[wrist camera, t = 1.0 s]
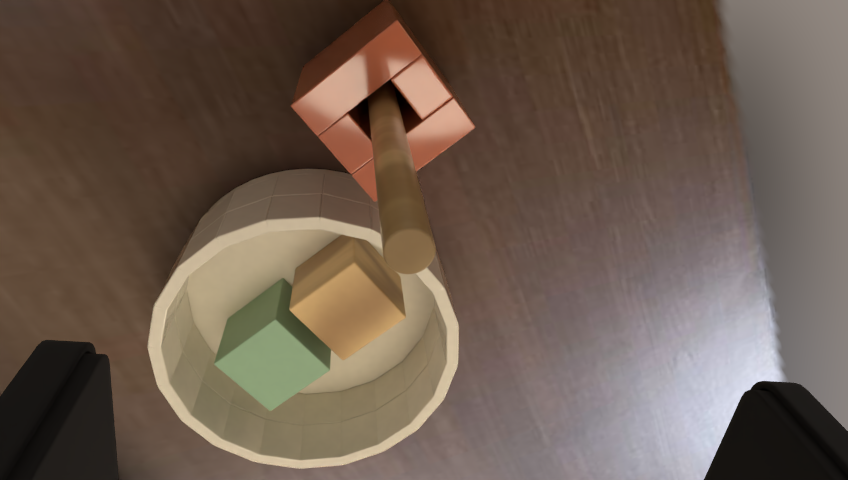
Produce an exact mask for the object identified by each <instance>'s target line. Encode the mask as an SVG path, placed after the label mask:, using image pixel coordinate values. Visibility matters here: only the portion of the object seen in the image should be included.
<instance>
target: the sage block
mask: <svg viewBox="0 0 848 480" xmlns="http://www.w3.org/2000/svg"><path fill="white" fill-rule="evenodd" d="M291 294H292V286H291V285H290V284H289V283H288V282H287V281H286V280H285V279H284V278H282V279H281V280H279V281H278V282H276V283H275V284H274V285H272V286H271V287H270V288H268V289H267V290H266V291H264V292H263V293H262V294H260V295H259V296H258V297H256V298H255V299H253V300H252V301H251V302H249V303H248V304H247V305H245V306H244V307H243V308H241V309H240V310H239V311H237V312H236V313H235V314H233V315H232V316H230V317H229V318H228V319H227V322H226V326H225V329H224V332H223V335H222V339H221V342H220V345H219V348H218V352H217V355H216V358H215V362H214V365H215V366H217V367H218V368H219V369H220V370H221V371H223V372H224V373H225V374H226V375H227V376H229V377H230V378H231V379H232V380H233V381H235V382H236V383H237V384H238V385H239V386H241V387H242V388H243V389H244V390H245V391H247V392H248V393H249V394H250V395H251V396H253V397H254V398H255V399H256V400H257V401H259V402H260V403H261V404H262V405H263V406H265V407H266V408H267V409H268V410H269V411H272V410H273V409H274V408H276V407H277V406H279V405H280V404H282V403H283V402H285V401H286V400H288V399H289V398H290V397H292V396H293V395H295V394H296V393H298V392H299V391H301V390H302V389H304V388H305V387H306V386H308V385H309V384H311V383H312V382H314V381H315V380H317V379H318V378H320V377H321V376H322V375H324V374H325V373H327V372H328V371H330V361H331V349H330V348H329V347H328V346H327V345H326V344H325V343H324V342H323V341H322V340H320V339H319V338H318V337H317V336H316V335H315V334H314V333H313V332H312V331H311V330H310V329H309V328H308V327H307V326H306V325H305V324H304V323H302V322H301V321H300V320H299V319H298V318H297V317H296V316H295V315H294V314H293V313H292V312H291V311H290V310H289V307H290V300H291Z"/></svg>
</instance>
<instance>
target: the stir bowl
mask: <svg viewBox="0 0 848 480" xmlns="http://www.w3.org/2000/svg"><path fill="white" fill-rule="evenodd" d="M340 235H346V236H351V237H355V238H359V239H364V240H367V241H368V242H369V243H370V244H371V245H372V246H373V247H374V248H375V249H376V250H377V252H378V253H379V254H380V255H381V256H382V257H383V250H382V240H381V230H380V220H379V210H378V200H377V201H376V202H374V201H373V200H372V198H371V197H370V196H369V195H368V194H367V193H366V192H365V190H364V189H363V188H362V187H361V186H360V185H359V184H358V182H357V181H356V180H355V179H354V178H353V177H352V175H351V174H347V173H344V172H338V171H332V170H325V169H296V170H286V171H281V172H276V173H272V174H268V175H265V176H262V177H259V178H256V179H253V180H251V181H249V182H247V183H245V184H243V185H241V186H239V187H237V188H235V189H234V190H232V191H231V192H229V193H228V194H226V195H225V196H223V197H222V198H221V199H219V200H218V201H217V202H216V203H215V204H214V205H213V206H212V207H211V208H210V209H209V210H208V211H207V212H206V213H205V214H204V216H203V217H202V218H201V219H200V221H199V222H198V223H197V225H196V227H195V228H194V230H193V232H192V234H191V235H190V237H189V239H188V241H187V242H186V244H185V245H184V247H183V249H182V250H181V252H180V254H179V256H178V258H177V260H176V262H175V264H174V266H173V268H172V270H171V272H170V274H169V276H168V278H167V280H166V282H165V284H164V286H163V288H162V290H161V292H160V294H159V296H158V298H157V300H156V302H155V304H154V306H153V312H152V319H151V325H150V332H149V338H148V351H149V355H150V359H151V363H152V367H153V371H154V375H155V379H156V383H157V386H158V388H159V389H160V391H161V392H162V394H163V395H164V397H165V398H166V399H167V401H168V402H169V404H170V405H171V407H172V408H173V410H174V411H175V412H176V414H177V415H178V417H179V418H180V419H181V421H182V422H184V423H185V424H186V425H188V426H189V427H190V428H192V429H193V430H194V431H195V432H197V433H198V434H199V435H201V436H202V437H203V438H205V439H206V440H207V441H209V442H210V443H211V444H213V445H214V446H216V447H219V448H221V449H223V450H226V451H228V452H231V453H233V454H236V455H238V456H241V457H243V458H246V459H248V460H251V461H253V462H257V463H263V464H270V465H277V466H284V467H291V468H300V469H303V468H315V467H327V466H338V465H345V464H348V463H351V462H354V461H357V460H360V459H363V458H366V457H369V456H372V455H375V454H378V453H381V452H383V451H385V450H387V449H389V448H390V447H392V446H393V445H395V444H396V443H398V442H399V441H401V440H403V439H404V438H406V437H407V436H409V435H410V434H412V433H413V432H415V431H417V430H418V429H419V428H420V427H421V425H422V424H423V423H424V422H425V421H426V420H427V418H428V417H429V416H430V415H431V414H432V413H433V411H434V410H435V409H436V408H437V407H438V406H439V405H440V403H441V402H442V401H443V399H444V398H445V396H446V393H447V391H448V388H449V386H450V383H451V381H452V379H453V376H454V374H455V371H456V369H457V366H458V355H459V324H458V320H457V316H456V312H455V309H454V305H453V301H452V297H451V294H450V290H449V286H448V283H447V279H446V275H445V271H444V269H443V266H442V263H441V261H440V257H439V254H438V251H437V249H436V252H435V256H434V259H433V261H432V262H431V264H430V265H429V266H428V267H427V268H426V269H424V270H423V271H421V272H418V273H415V274H401V273H398V272H397V273H398V275H399V276H400V277H401V284H402V291H403V298H404V306H405V313H406V318H405V319H403V320H402V321H400V322H399V323H398V324H396V325H395V326H393V327H392V328H390V329H389V330H387V331H386V332H384V333H383V334H382V335H380V336H379V337H377V338H376V339H374V340H373V341H371V342H370V343H368V344H367V345H366V346H364V347H363V348H361V349H360V350H358V351H357V352H355V353H354V354H353V355H351V356H350V357H348V358H347V359H345V360H342V359H341V358H339V357H338V356H337V355H336V354H335V353H334V352H333V351H332V350H331V361H330V371H328V372H327V373H325V374H324V375H322V376H321V377H320V378H318V379H317V380H315V381H314V382H312V383H311V384H309V385H308V386H306V387H305V388H304V389H302V390H301V391H299V392H298V393H296V394H295V395H293V396H292V397H290V398H289V399H288V400H286V401H285V402H283V403H282V404H280V405H279V406H277V407H276V408H274V409H273V410H272V411H269V410H268V409H267V408H266V407H265V406H263V405H262V404H261V403H260V402H259V401H257V400H256V399H255V398H254V397H253V396H251V395H250V394H249V393H248V392H247V391H245V390H244V389H243V388H242V387H241V386H239V385H238V384H237V383H236V382H235V381H233V380H232V379H231V378H230V377H229V376H227V375H226V374H225V373H224V372H223V371H221V370H220V369H219V368H218V367H217V366H215V365H214V362H215V358H216V355H217V352H218V348H219V345H220V342H221V339H222V335H223V332H224V329H225V326H226V322H227V319H228V318H229V317H230V316H232V315H233V314H235V313H236V312H237V311H239V310H240V309H241V308H243V307H244V306H245V305H247V304H248V303H249V302H251V301H252V300H253V299H255V298H256V297H258V296H259V295H260V294H262V293H263V292H264V291H266V290H267V289H268V288H270V287H271V286H272V285H274V284H275V283H276V282H278V281H279V280H281V279H282V278H284V279H285V280H286V281H287V282H288V283H289V284H290V285H291V286H292V287H293V281H294V274H295V269H296V268H297V267H298V266H300V265H301V264H303V263H304V262H305V261H307V260H308V259H309V258H311V257H312V256H313V255H315V254H316V253H317V252H319V251H320V250H322V249H323V248H324V247H326V246H327V245H328V244H330V243H331V242H332V241H334V240H335V239H336V238H338V237H339V236H340ZM435 247H436V246H435ZM383 258H384V257H383Z"/></svg>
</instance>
